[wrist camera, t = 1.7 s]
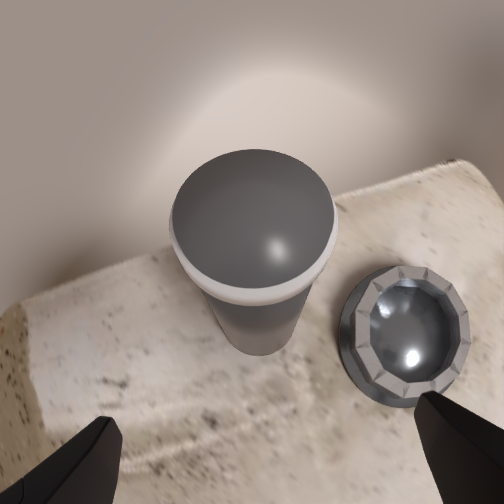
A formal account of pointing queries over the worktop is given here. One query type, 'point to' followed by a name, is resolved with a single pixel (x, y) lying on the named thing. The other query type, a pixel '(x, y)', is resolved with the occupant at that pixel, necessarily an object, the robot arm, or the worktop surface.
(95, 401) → the worktop surface
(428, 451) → the robot arm
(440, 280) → the mount ring
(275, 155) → the grey cylinder
